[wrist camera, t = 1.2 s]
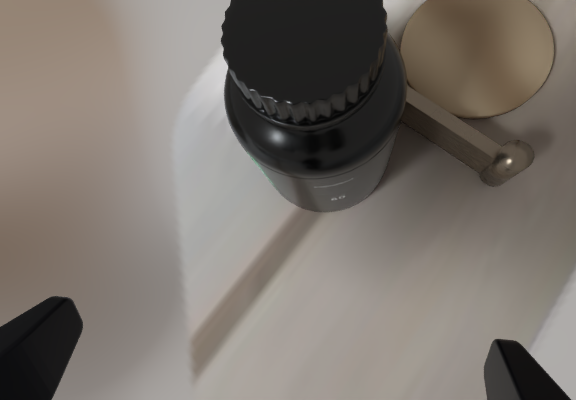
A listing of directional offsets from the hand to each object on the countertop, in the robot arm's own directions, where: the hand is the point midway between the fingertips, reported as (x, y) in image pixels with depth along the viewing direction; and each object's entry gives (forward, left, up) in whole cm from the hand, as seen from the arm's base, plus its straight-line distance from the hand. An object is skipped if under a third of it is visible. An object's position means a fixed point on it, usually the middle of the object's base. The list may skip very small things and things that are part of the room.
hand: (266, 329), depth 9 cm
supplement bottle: (+6, +6, -14) cm, 16 cm away
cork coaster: (+16, +4, -13) cm, 21 cm away
